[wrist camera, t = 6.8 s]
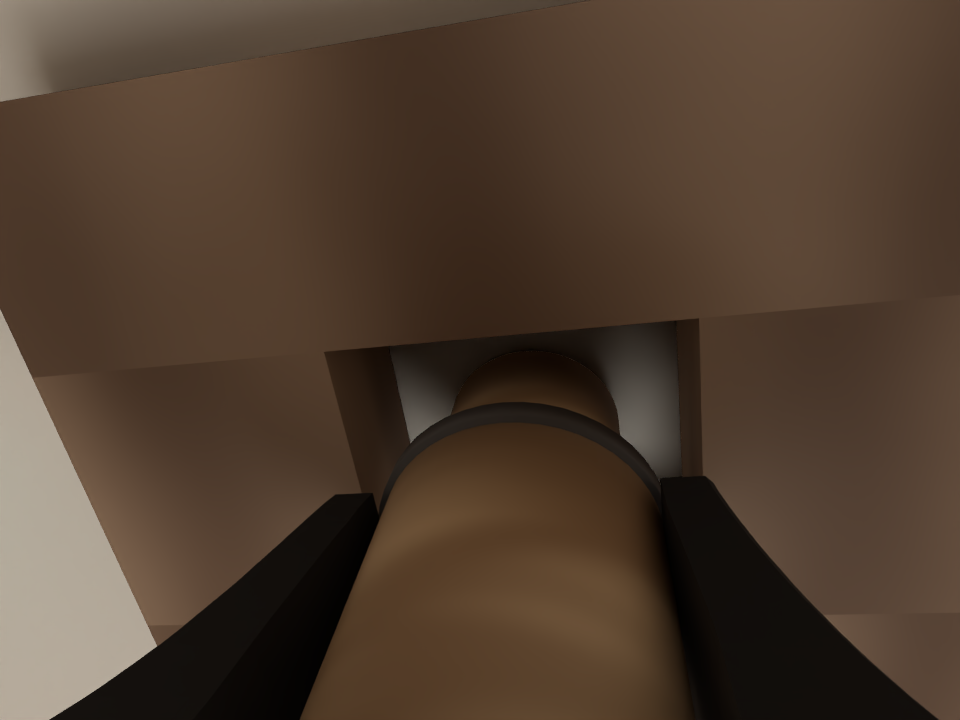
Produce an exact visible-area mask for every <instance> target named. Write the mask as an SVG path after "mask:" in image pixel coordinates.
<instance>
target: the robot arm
mask: <svg viewBox="0 0 960 720" xmlns="http://www.w3.org/2000/svg"><path fill="white" fill-rule="evenodd" d="M660 483H661V501H662V520H663V528H664V534H665V540H666V546H667V552H668V558H669V564H670V570H671V575H672V580H673V586H674V592H675V598H676V604H677V610H678V616H679V622H680V628H681V635H682V641H683V647H684V653H685V659H686V665H687V671H688V677H689V683H690V689H691V695H692V701H693V707H694V713H695V719H696V720H939V719H938V718H936V717H935V716H934V715H933V714H932V713H930V712H929V711H928V710H927V709H925V708H924V707H923V706H922V705H921V704H919V703H918V702H917V701H916V700H915V699H913V698H912V697H911V696H910V695H909V694H907V693H906V692H905V691H904V690H903V689H902V688H901V687H899V686H898V685H897V684H896V683H895V682H894V681H893V680H891V679H890V678H889V677H888V676H887V675H886V674H885V673H883V672H882V671H881V670H880V669H879V668H878V667H877V666H876V665H874V664H873V663H872V662H871V661H870V660H869V659H868V658H867V657H866V656H865V655H864V654H863V653H861V652H860V651H859V650H858V649H857V648H856V647H855V646H854V645H853V644H852V643H851V642H850V641H849V640H848V639H847V638H846V637H845V636H844V635H843V634H841V633H840V632H839V631H838V630H837V629H836V628H835V627H834V626H833V625H832V624H831V622H830V621H829V620H828V619H827V618H826V617H825V616H824V615H823V614H822V613H821V612H820V611H819V610H818V609H817V608H816V607H815V606H814V605H813V604H812V603H811V602H810V601H809V600H808V599H807V598H806V597H805V596H804V595H803V594H802V593H801V592H800V590H799V589H798V588H797V587H796V586H795V585H794V584H793V583H792V582H791V581H790V579H789V578H788V577H787V576H786V575H785V574H784V573H783V571H782V570H781V569H780V568H779V567H778V566H777V565H776V564H775V562H774V561H773V560H772V559H771V558H770V557H769V556H768V554H767V553H766V552H765V551H764V550H763V549H762V547H761V546H760V545H759V544H758V543H757V541H756V540H755V539H754V538H753V536H752V535H751V534H750V533H749V531H748V530H747V529H746V528H745V526H744V525H743V524H742V522H741V521H740V520H739V519H738V517H737V516H736V515H735V513H734V512H733V511H732V509H731V508H730V506H729V505H728V504H727V502H726V501H725V499H724V498H723V497H722V495H721V494H720V492H719V491H718V489H717V488H716V486H715V484H714V483H713V482H712V481H711V480H710V479H708V478H707V477H706V476H692V477H672V478H660ZM379 520H380V519H379V515H378V511H377V507H376V503H375V499H374V496H373V493H355V494H335V495H334V496H333V497H331V498H330V499H329V500H328V501H326V502H325V503H324V504H323V505H322V506H320V507H319V508H318V509H317V510H316V511H315V512H314V513H313V514H311V515H310V516H309V517H308V518H307V519H306V520H305V521H304V522H303V523H301V524H300V525H299V526H298V527H297V528H296V529H295V530H294V531H293V532H292V533H290V534H289V535H288V536H287V537H286V538H285V539H284V540H283V541H282V542H281V543H280V544H278V545H277V546H276V547H275V548H274V549H273V550H272V551H271V552H269V553H268V554H267V555H266V556H265V557H264V558H263V559H262V560H261V561H259V562H258V563H257V564H256V565H255V566H254V567H253V568H252V569H250V570H249V571H248V572H247V573H246V574H245V575H244V576H243V577H242V578H240V579H239V580H238V581H237V582H236V583H235V584H234V585H232V586H231V587H230V588H229V589H227V590H226V591H225V592H224V593H223V594H221V595H220V596H219V597H218V598H217V599H215V600H214V601H213V602H212V603H211V604H209V605H208V606H207V607H206V608H204V609H203V610H202V611H201V612H200V613H198V614H197V615H196V616H195V617H194V618H192V619H191V620H190V621H189V622H188V623H186V624H185V625H184V626H183V627H181V628H180V629H179V630H178V631H177V632H175V633H174V634H173V635H171V636H170V637H169V638H168V639H166V640H165V641H164V642H162V643H161V644H160V645H158V646H157V647H156V648H154V649H153V650H152V651H150V652H149V653H148V654H146V655H145V656H144V657H142V658H141V659H140V660H138V661H137V662H135V663H134V664H133V665H131V666H130V667H128V668H127V669H125V670H124V671H123V672H121V673H120V674H118V675H117V676H116V677H114V678H113V679H111V680H110V681H108V682H107V683H106V684H104V685H103V686H101V687H100V688H98V689H97V690H95V691H94V692H92V693H91V694H89V695H88V696H86V697H85V698H83V699H82V700H80V701H79V702H77V703H75V704H74V705H72V706H71V707H69V708H67V709H66V710H64V711H63V712H61V713H59V714H58V715H56V716H55V717H53V718H51V719H50V720H300V717H301V715H302V712H303V710H304V707H305V705H306V702H307V700H308V697H309V695H310V692H311V690H312V687H313V685H314V682H315V680H316V677H317V675H318V672H319V670H320V667H321V665H322V662H323V660H324V657H325V655H326V652H327V650H328V647H329V645H330V642H331V640H332V637H333V635H334V632H335V630H336V627H337V625H338V622H339V620H340V617H341V615H342V612H343V610H344V607H345V605H346V602H347V600H348V597H349V595H350V592H351V590H352V587H353V585H354V582H355V580H356V577H357V575H358V572H359V570H360V567H361V565H362V562H363V560H364V557H365V555H366V552H367V550H368V547H369V545H370V542H371V540H372V537H373V535H374V532H375V530H376V527H377V525H378V522H379Z"/></svg>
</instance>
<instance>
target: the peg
mask: <svg viewBox="0 0 960 720" xmlns="http://www.w3.org/2000/svg"><path fill="white" fill-rule="evenodd" d="M378 515H379V519H380V520H379V522H378V525H377V527H376V530H375V532H374V535H373V537H372V540H371V542H370V545H369V547H368V550H367V552H366V555H365V557H364V560H363V562H362V565H361V567H360V570H359V572H358V575H357V577H356V580H355V582H354V585H353V587H352V590H351V592H350V595H349V597H348V600H347V602H346V605H345V607H344V610H343V612H342V615H341V617H340V620H339V622H338V625H337V627H336V630H335V632H334V635H333V637H332V640H331V642H330V645H329V647H328V650H327V652H326V655H325V657H324V660H323V662H322V665H321V667H320V670H319V672H318V675H317V677H316V680H315V682H314V685H313V687H312V690H311V692H310V695H309V697H308V700H307V702H306V705H305V707H304V710H303V712H302V715H301V717H300V720H696V719H695V713H694V707H693V701H692V695H691V689H690V683H689V677H688V671H687V665H686V659H685V653H684V647H683V641H682V635H681V628H680V622H679V616H678V610H677V604H676V598H675V592H674V586H673V580H672V575H671V570H670V564H669V558H668V552H667V546H666V540H665V534H664V528H663V520H662V501H661V485H660V483H659V481H658V479H657V477H656V475H655V473H654V472H653V470H652V469H651V467H650V466H649V464H648V463H647V462H646V460H645V459H644V458H643V457H642V456H641V454H640V453H639V452H638V451H637V450H636V449H635V448H634V447H633V446H632V445H631V444H630V443H629V442H627V441H626V440H625V439H624V438H622V437H621V436H620V430H619V420H618V414H617V409H616V406H615V403H614V400H613V398H612V396H611V394H610V392H609V391H608V389H607V388H606V386H605V385H604V383H603V382H602V381H601V380H600V379H599V378H598V377H597V376H596V375H595V374H594V373H593V372H592V371H590V370H589V369H588V368H586V367H585V366H583V365H582V364H580V363H578V362H576V361H574V360H572V359H570V358H568V357H565V356H562V355H559V354H555V353H550V352H545V351H520V352H514V353H509V354H506V355H502V356H500V357H497V358H495V359H493V360H491V361H489V362H487V363H485V364H484V365H482V366H481V367H480V368H478V369H477V370H476V371H474V372H473V373H472V375H471V376H470V377H469V378H468V379H467V380H466V381H465V383H464V384H463V386H462V387H461V389H460V391H459V393H458V395H457V398H456V401H455V404H454V407H453V410H452V413H451V415H450V416H448V417H446V418H444V419H442V420H441V421H439V422H437V423H435V424H434V425H432V426H430V427H429V428H428V429H426V430H425V431H424V432H423V433H421V434H420V435H419V436H417V437H416V438H415V440H414V441H413V442H412V443H411V444H410V445H409V446H408V447H407V448H406V449H405V451H404V452H403V453H402V455H401V456H400V458H399V459H398V461H397V462H396V464H395V466H394V468H393V471H392V473H391V475H390V477H389V479H388V482H387V484H386V487H385V489H384V492H383V495H382V499H381V502H380V506H379V514H378Z"/></svg>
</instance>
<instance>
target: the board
mask: <svg viewBox="0 0 960 720" xmlns="http://www.w3.org/2000/svg"><path fill="white" fill-rule="evenodd" d="M0 309H1V311H2V314H3V316H4V318H5V320H6V322H7V324H8V326H9V329H10V331H11V333H12V335H13V337H14V339H15V341H16V344H17V346H18V348H19V350H20V352H21V354H22V356H23V359H24V361H25V363H26V365H27V367H28V369H29V372H30V374H31V376H32V378H33V380H34V382H35V384H36V387H37V389H38V391H39V393H40V395H41V397H42V399H43V402H44V404H45V406H46V408H47V410H48V412H49V414H50V417H51V419H52V421H53V423H54V425H55V427H56V430H57V432H58V434H59V436H60V438H61V440H62V442H63V445H64V447H65V449H66V451H67V453H68V455H69V457H70V460H71V462H72V464H73V466H74V468H75V470H76V472H77V475H78V477H79V479H80V481H81V483H82V485H83V487H84V490H85V492H86V494H87V496H88V498H89V500H90V503H91V505H92V507H93V509H94V511H95V513H96V515H97V518H98V520H99V522H100V524H101V526H102V528H103V530H104V533H105V535H106V537H107V539H108V541H109V543H110V545H111V548H112V550H113V552H114V554H115V556H116V558H117V561H118V563H119V565H120V567H121V569H122V571H123V573H124V576H125V578H126V580H127V582H128V584H129V586H130V588H131V591H132V593H133V595H134V597H135V599H136V601H137V603H138V606H139V608H140V610H141V612H142V614H143V616H144V618H145V621H146V623H147V625H148V627H149V629H150V631H151V634H152V636H153V638H154V640H155V642H156V644H157V646H158V645H160V644H161V643H162V642H164V641H165V640H166V639H168V638H169V637H170V636H171V635H173V634H174V633H175V632H177V631H178V630H179V629H180V628H181V627H183V626H184V625H185V624H186V623H188V622H189V621H190V620H191V619H192V618H194V617H195V616H196V615H197V614H198V613H200V612H201V611H202V610H203V609H204V608H206V607H207V606H208V605H209V604H211V603H212V602H213V601H214V600H215V599H217V598H218V597H219V596H220V595H221V594H223V593H224V592H225V591H226V590H227V589H229V588H230V587H231V586H232V585H234V584H235V583H236V582H237V581H238V580H239V579H240V578H242V577H243V576H244V575H245V574H246V573H247V572H248V571H249V570H250V569H252V568H253V567H254V566H255V565H256V564H257V563H258V562H259V561H261V560H262V559H263V558H264V557H265V556H266V555H267V554H268V553H269V552H271V551H272V550H273V549H274V548H275V547H276V546H277V545H278V544H280V543H281V542H282V541H283V540H284V539H285V538H286V537H287V536H288V535H289V534H290V533H292V532H293V531H294V530H295V529H296V528H297V527H298V526H299V525H300V524H301V523H303V522H304V521H305V520H306V519H307V518H308V517H309V516H310V515H311V514H313V513H314V512H315V511H316V510H317V509H318V508H319V507H320V506H322V505H323V504H324V503H325V502H326V501H328V500H329V499H330V498H331V497H333V496H334V495H335V494H355V493H373V496H374V499H375V503H376V507H377V511H378V514H379V506H380V502H381V499H382V495H383V492H384V489H385V487H386V484H387V482H388V479H389V477H390V475H391V473H392V471H393V468H394V466H395V464H396V462H397V461H398V459H399V458H400V456H401V455H402V453H403V452H404V451H405V449H406V448H407V447H408V446H409V445H410V441H409V437H408V432H407V428H406V423H405V419H404V415H403V410H402V406H401V401H400V397H399V392H398V388H397V384H396V379H395V375H394V370H393V366H392V361H391V357H390V353H389V348H388V346H394V345H405V344H416V343H428V342H439V341H450V340H461V339H472V338H484V337H495V336H506V335H517V334H528V333H539V332H551V331H562V330H573V329H584V328H595V327H607V326H618V325H629V324H640V323H651V322H663V321H674V320H676V326H677V352H678V379H679V405H680V431H681V457H682V477H692V476H706V477H707V478H708V479H710V480H711V481H712V482H713V483H714V484H715V486H716V488H717V489H718V491H719V492H720V494H721V495H722V497H723V498H724V499H725V501H726V502H727V504H728V505H729V506H730V508H731V509H732V511H733V512H734V513H735V515H736V516H737V517H738V519H739V520H740V521H741V522H742V524H743V525H744V526H745V528H746V529H747V530H748V531H749V533H750V534H751V535H752V536H753V538H754V539H755V540H756V541H757V543H758V544H759V545H760V546H761V547H762V549H763V550H764V551H765V552H766V553H767V554H768V556H769V557H770V558H771V559H772V560H773V561H774V562H775V564H776V565H777V566H778V567H779V568H780V569H781V570H782V571H783V573H784V574H785V575H786V576H787V577H788V578H789V579H790V581H791V582H792V583H793V584H794V585H795V586H796V587H797V588H798V589H799V590H800V592H801V593H802V594H803V595H804V596H805V597H806V598H807V599H808V600H809V601H810V602H811V603H812V604H813V605H814V606H815V607H816V608H817V609H818V610H819V611H820V612H821V613H822V614H823V615H824V616H825V617H826V618H827V619H828V620H829V621H830V622H831V624H832V625H833V626H834V627H835V628H836V629H837V630H838V631H839V632H840V633H841V634H843V635H844V636H845V637H846V638H847V639H848V640H849V641H850V642H851V643H852V644H853V645H854V646H855V647H856V648H857V649H858V650H859V651H860V652H861V653H863V654H864V655H865V656H866V657H867V658H868V659H869V660H870V661H871V662H872V663H873V664H874V665H876V666H877V667H878V668H879V669H880V670H881V671H882V672H883V673H885V674H886V675H887V676H888V677H889V678H890V679H891V680H893V681H894V682H895V683H896V684H897V685H898V686H899V687H901V688H902V689H903V690H904V691H905V692H906V693H907V694H909V695H910V696H911V697H912V698H913V699H915V700H916V701H917V702H918V703H919V704H921V705H922V706H923V707H924V708H925V709H927V710H928V711H929V712H930V713H932V714H933V715H934V716H935V717H936V718H938V719H939V720H960V0H589V1H583V2H577V3H572V4H566V5H560V6H554V7H548V8H543V9H537V10H531V11H525V12H519V13H514V14H508V15H502V16H496V17H490V18H485V19H479V20H473V21H467V22H461V23H456V24H450V25H444V26H438V27H432V28H427V29H421V30H415V31H409V32H403V33H398V34H392V35H386V36H380V37H374V38H369V39H363V40H357V41H351V42H345V43H340V44H334V45H328V46H322V47H316V48H311V49H305V50H299V51H293V52H287V53H281V54H276V55H270V56H264V57H258V58H252V59H247V60H241V61H235V62H229V63H223V64H218V65H212V66H206V67H200V68H194V69H189V70H183V71H177V72H171V73H165V74H160V75H154V76H148V77H142V78H136V79H131V80H125V81H119V82H113V83H107V84H102V85H96V86H90V87H84V88H78V89H73V90H67V91H61V92H55V93H49V94H44V95H38V96H32V97H26V98H20V99H15V100H9V101H3V102H0Z"/></svg>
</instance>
